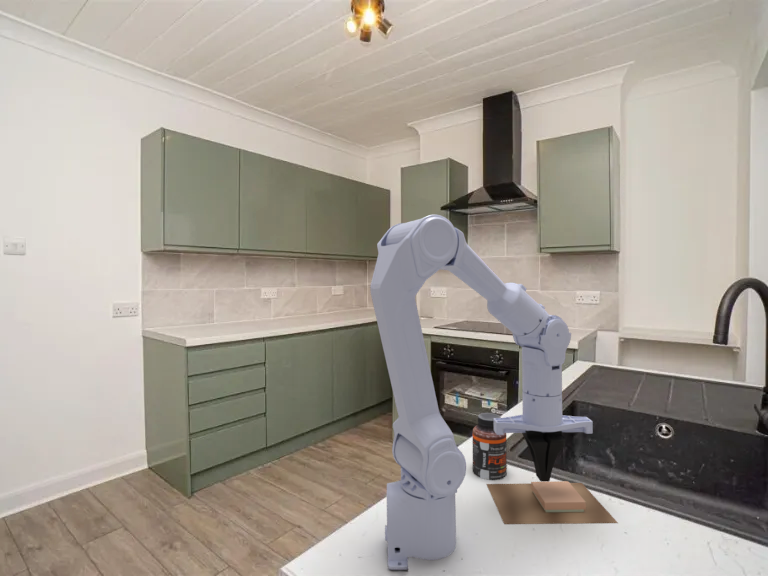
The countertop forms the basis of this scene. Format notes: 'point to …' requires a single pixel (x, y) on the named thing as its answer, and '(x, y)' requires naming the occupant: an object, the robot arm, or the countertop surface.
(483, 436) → the supplement bottle
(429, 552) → the robot arm
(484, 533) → the countertop surface
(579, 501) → the tile
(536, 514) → the board
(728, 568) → the countertop surface
